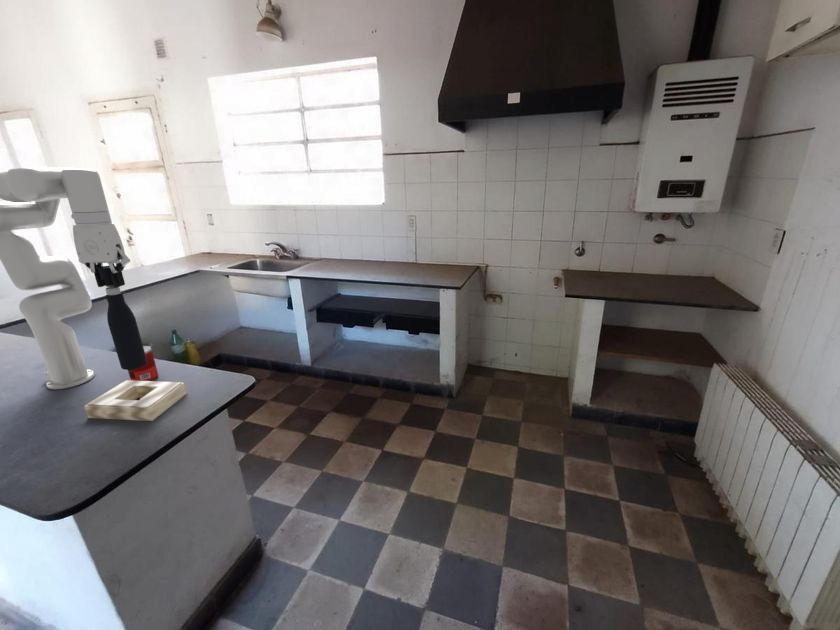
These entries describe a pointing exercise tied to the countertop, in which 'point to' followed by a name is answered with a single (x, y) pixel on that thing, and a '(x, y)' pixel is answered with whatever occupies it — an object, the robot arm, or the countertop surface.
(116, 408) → the holder block
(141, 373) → the canned food
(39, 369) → the countertop surface
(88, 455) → the countertop surface
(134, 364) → the black water bottle
